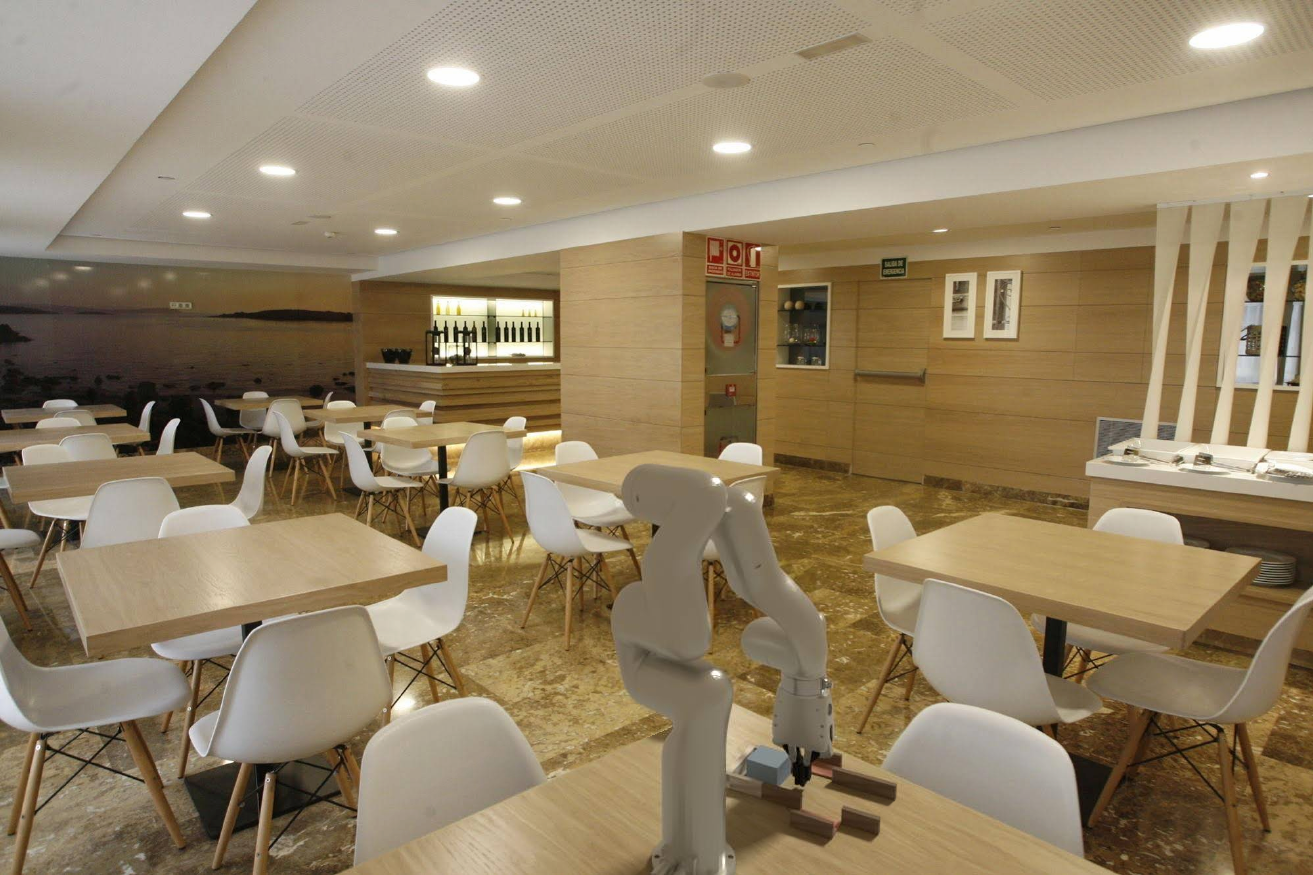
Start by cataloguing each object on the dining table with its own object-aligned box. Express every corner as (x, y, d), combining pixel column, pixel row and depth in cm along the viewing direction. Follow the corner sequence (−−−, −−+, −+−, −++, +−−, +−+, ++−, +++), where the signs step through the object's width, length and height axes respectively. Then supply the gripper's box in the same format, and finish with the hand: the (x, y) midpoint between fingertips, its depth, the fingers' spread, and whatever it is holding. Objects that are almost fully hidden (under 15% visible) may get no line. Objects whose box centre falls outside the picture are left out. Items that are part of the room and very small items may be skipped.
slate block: (777, 790, 133) (777, 768, 133) (746, 779, 137) (746, 758, 136) (790, 774, 138) (791, 753, 138) (761, 765, 142) (761, 744, 141)
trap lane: (870, 851, 116) (870, 836, 116) (712, 800, 130) (712, 786, 130) (902, 783, 135) (903, 770, 134) (761, 745, 148) (761, 732, 148)
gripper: (852, 682, 131) (849, 783, 133) (770, 665, 138) (769, 761, 140) (839, 699, 124) (837, 805, 126) (754, 681, 131) (753, 781, 133)
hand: (801, 782), depth 133 cm, fingers closed
